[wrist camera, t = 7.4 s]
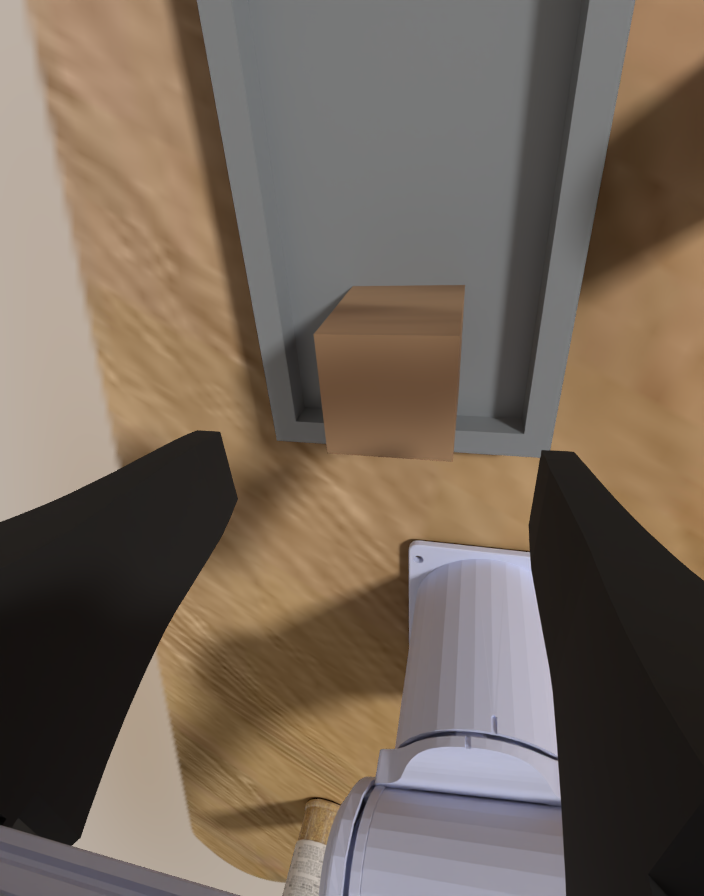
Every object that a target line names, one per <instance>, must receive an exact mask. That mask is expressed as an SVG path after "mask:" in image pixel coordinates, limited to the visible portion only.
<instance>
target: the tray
mask: <svg viewBox="0 0 704 896" xmlns="http://www.w3.org/2000/svg"><path fill="white" fill-rule="evenodd" d="M197 4H198V10H199V15H200V21H201V26H202V32H203V37H204V43H205V48H206V54H207V59H208V65H209V70H210V76H211V81H212V87H213V92H214V98H215V103H216V109H217V114H218V120H219V125H220V131H221V136H222V142H223V147H224V153H225V158H226V164H227V169H228V175H229V180H230V185H231V191H232V196H233V202H234V207H235V213H236V218H237V224H238V229H239V235H240V240H241V246H242V251H243V257H244V262H245V268H246V273H247V279H248V284H249V290H250V295H251V301H252V306H253V312H254V317H255V323H256V328H257V334H258V339H259V345H260V350H261V356H262V361H263V367H264V372H265V378H266V383H267V388H268V394H269V399H270V405H271V410H272V416H273V421H274V427H275V432H276V438H277V441H291V442H307V443H322V444H326V437H325V428H324V419H323V411H322V402H321V394H320V385H319V376H318V368H317V359H316V351H315V342H314V333H315V332H316V331H317V329H318V328H319V327H320V326H321V325H322V323H323V322H324V321H325V320H326V318H327V317H328V316H329V315H330V314H331V312H332V311H333V310H334V309H335V307H336V306H337V305H338V304H339V302H340V301H341V300H342V299H343V298H344V296H345V295H346V294H347V293H348V291H349V290H350V289H351V288H352V286H414V285H465V296H464V313H463V330H462V347H461V364H460V380H459V395H458V406H457V418H456V430H455V441H454V452H461V453H476V454H491V455H507V456H522V457H538V458H540V456H541V450H550V448H551V443H552V437H553V432H554V427H555V421H556V416H557V411H558V406H559V400H560V395H561V390H562V385H563V379H564V374H565V369H566V363H567V358H568V353H569V348H570V342H571V337H572V332H573V326H574V321H575V316H576V311H577V305H578V300H579V295H580V289H581V284H582V279H583V274H584V268H585V263H586V258H587V253H588V247H589V242H590V237H591V231H592V226H593V221H594V216H595V210H596V205H597V200H598V194H599V189H600V184H601V179H602V173H603V168H604V163H605V157H606V152H607V147H608V142H609V136H610V131H611V126H612V121H613V115H614V110H615V105H616V99H617V94H618V89H619V84H620V78H621V73H622V68H623V62H624V57H625V52H626V47H627V41H628V36H629V31H630V25H631V20H632V15H633V10H634V4H635V0H197Z"/></svg>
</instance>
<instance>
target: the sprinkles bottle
mask: <svg viewBox="0 0 704 896" xmlns="http://www.w3.org/2000/svg"><path fill="white" fill-rule="evenodd" d="M339 808H340V805H338V804H335V803H333V802H330V801H326V800H323V799H312V800H310V801H308V802H307V803H306V806H305V815H304V818H303V822H302V827H301V831H300V834H299V838H298V841H297V843H296V846H295V850H294V853H293V857H292V861H291V865H290V869H289V872H288V876H287V880H286V884H285V888H284V892H283V896H319V887H320V878H321V871H322V865H323V859H324V854H325V849H326V845H327V841H328V837H329V833H330V830H331V827H332V824H333V821H334V819H335V816H336V814H337V812H338V810H339Z"/></svg>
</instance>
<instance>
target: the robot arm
mask: <svg viewBox="0 0 704 896" xmlns="http://www.w3.org/2000/svg"><path fill="white" fill-rule="evenodd" d="M237 500H238V498H237V494H236V490H235V487H234V483H233V479H232V475H231V471H230V468H229V464H228V460H227V456H226V452H225V449H224V445H223V441H222V437H221V433H220V432H215V431H198V430H197V431H195V432H192V433H190V434H187V435H185V436H183V437H181V438H178V439H176V440H174V441H172V442H170V443H168V444H166V445H164V446H163V447H161V448H159V449H157V450H155V451H153V452H151V453H149V454H147V455H145V456H143V457H142V458H140V459H138V460H136V461H134V462H132V463H130V464H128V465H126V466H124V467H123V468H121V469H119V470H117V471H115V472H113V473H111V474H109V475H107V476H105V477H103V478H101V479H99V480H97V481H95V482H92V483H90V484H88V485H86V486H84V487H82V488H80V489H78V490H76V491H74V492H72V493H70V494H68V495H66V496H63V497H61V498H59V499H57V500H54V501H52V502H50V503H47V504H45V505H43V506H40V507H38V508H35V509H33V510H30V511H28V512H25V513H23V514H20V515H18V516H15V517H13V518H10V519H7V520H5V521H2V522H0V896H240V895H236V894H233V893H229V892H226V891H223V890H219V889H216V888H213V887H209V886H206V885H202V884H199V883H196V882H192V881H189V880H185V879H182V878H179V877H175V876H172V875H168V874H165V873H162V872H158V871H154V870H151V869H148V868H145V867H141V866H137V865H134V864H131V863H128V862H124V861H120V860H117V859H113V858H110V857H107V856H104V855H100V854H97V853H93V852H90V851H87V850H83V849H80V848H76V847H73V846H72V845H73V844H74V843H75V842H76V841H77V840H78V839H80V838H81V835H82V832H83V829H84V826H85V823H86V820H87V817H88V814H89V811H90V808H91V806H92V803H93V800H94V797H95V795H96V792H97V789H98V786H99V783H100V781H101V778H102V775H103V772H104V770H105V767H106V764H107V761H108V759H109V757H110V754H111V751H112V749H113V746H114V744H115V741H116V739H117V737H118V734H119V732H120V729H121V727H122V724H123V722H124V719H125V717H126V714H127V712H128V710H129V707H130V705H131V703H132V701H133V698H134V696H135V694H136V691H137V689H138V687H139V684H140V682H141V680H142V678H143V676H144V673H145V671H146V669H147V667H148V665H149V663H150V660H151V659H152V656H153V654H154V652H155V650H156V648H157V646H158V644H159V642H160V640H161V638H162V636H163V634H164V632H165V630H166V628H167V626H168V624H169V622H170V621H171V619H172V617H173V615H174V613H175V612H176V610H177V608H178V607H179V605H180V604H181V602H182V600H183V599H184V597H185V595H186V594H187V592H188V591H189V589H190V587H191V586H192V584H193V583H194V581H195V579H196V578H197V576H198V574H199V573H200V571H201V570H202V568H203V566H204V565H205V563H206V562H207V560H208V558H209V557H210V555H211V553H212V552H213V550H214V548H215V547H216V545H217V543H218V542H219V540H220V538H221V537H222V535H223V533H224V531H225V528H226V526H227V524H228V522H229V519H230V517H231V515H232V512H233V510H234V507H235V505H236V502H237ZM529 543H530V552H522V551H513V550H504V549H494V548H485V547H476V546H466V545H457V544H448V543H438V542H429V541H420V540H418V541H413V542H412V543H411V544H410V546H409V652H408V660H407V667H406V674H405V681H404V688H403V696H402V703H401V710H400V717H399V724H398V731H397V739H396V746H395V749H381V750H380V753H379V760H378V766H377V772H376V777H364V778H362V779H360V780H359V781H358V782H357V783H356V784H355V785H354V787H353V788H352V790H351V791H350V793H349V794H348V796H347V797H346V798H345V800H344V801H343V802H342V804H341V806H340V808H339V810H338V812H337V814H336V816H335V819H334V821H333V824H332V827H331V830H330V833H329V837H328V841H327V845H326V849H325V854H324V859H323V865H322V871H321V878H320V887H319V896H704V581H703V580H702V579H701V578H700V577H698V576H697V575H696V574H695V573H693V572H692V571H691V570H690V569H689V568H687V567H686V566H685V565H684V564H683V563H681V562H680V561H679V560H678V559H677V558H676V557H675V556H673V555H672V554H671V553H670V552H669V551H668V550H667V549H666V548H665V547H664V546H663V545H661V544H660V543H659V542H658V541H657V540H656V539H655V538H654V537H653V536H652V535H651V534H650V533H648V532H647V531H646V530H645V529H644V528H643V527H642V526H641V525H640V524H639V523H638V522H637V521H636V520H635V519H634V518H633V517H632V516H631V515H630V513H629V512H628V511H627V510H626V509H625V508H624V507H623V506H622V505H621V504H620V503H619V502H618V501H617V500H616V499H615V498H614V497H613V495H612V494H611V493H610V492H609V491H608V490H607V489H606V488H605V487H604V485H603V484H602V483H601V482H600V481H599V480H598V479H597V478H596V476H595V475H594V474H593V473H592V472H591V471H590V469H589V468H588V467H587V466H586V465H585V464H584V463H583V462H582V460H581V459H580V458H579V457H578V456H577V455H576V454H575V453H574V452H568V451H550V450H541V456H540V462H539V468H538V474H537V480H536V486H535V491H534V497H533V503H532V509H531V515H530V521H529ZM416 556H421V558H419V557H416Z"/></svg>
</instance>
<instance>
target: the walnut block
mask: <svg viewBox="0 0 704 896" xmlns="http://www.w3.org/2000/svg"><path fill="white" fill-rule="evenodd" d="M464 296H465V285H414V286H352V288H351V289H350V290H349V291H348V293H347V294H346V295H345V296H344V298H343V299H342V300H341V301H340V302H339V304H338V305H337V306H336V307H335V309H334V310H333V311H332V312H331V314H330V315H329V316H328V317H327V318H326V320H325V321H324V322H323V323H322V325H321V326H320V327H319V328H318V329H317V331H316V332H315V333H314V342H315V351H316V359H317V368H318V376H319V385H320V394H321V402H322V411H323V419H324V428H325V437H326V445H327V453H334V454H349V455H363V456H378V457H392V458H407V459H421V460H435V461H450V462H453V453H454V441H455V430H456V418H457V406H458V395H459V380H460V364H461V347H462V330H463V313H464Z"/></svg>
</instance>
